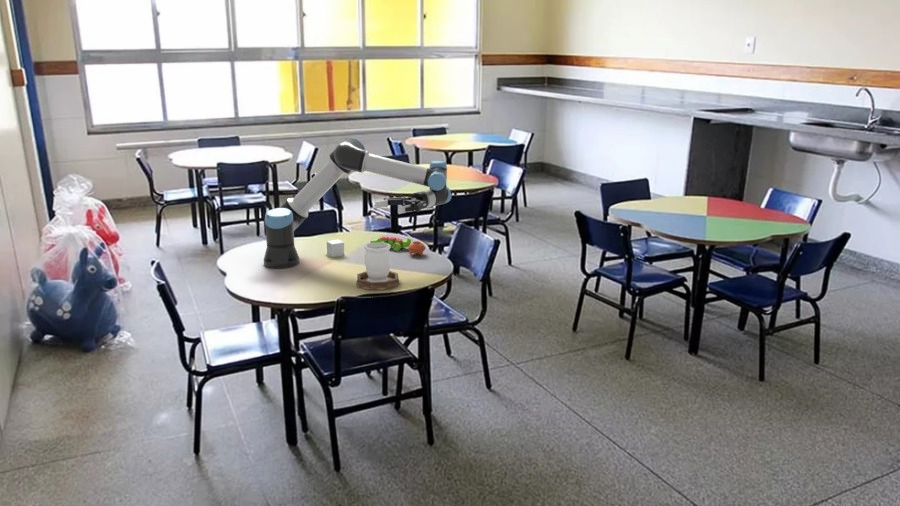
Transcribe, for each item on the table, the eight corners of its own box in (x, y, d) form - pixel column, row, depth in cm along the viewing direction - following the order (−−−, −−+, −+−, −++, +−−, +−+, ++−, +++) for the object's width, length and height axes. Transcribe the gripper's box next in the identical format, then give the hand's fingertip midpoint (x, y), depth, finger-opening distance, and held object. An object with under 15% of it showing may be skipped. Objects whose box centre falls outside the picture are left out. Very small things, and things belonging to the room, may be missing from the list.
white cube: (344, 255, 314) (344, 242, 313) (332, 257, 311) (331, 244, 310) (339, 251, 319) (338, 239, 317) (327, 253, 316) (326, 241, 314)
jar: (386, 286, 272) (386, 250, 268) (361, 284, 274) (360, 248, 270) (394, 277, 282) (393, 242, 278) (369, 275, 284) (369, 241, 280)
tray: (356, 290, 269) (356, 284, 269) (356, 276, 286) (356, 270, 285) (400, 289, 272) (400, 282, 271) (398, 275, 288) (397, 269, 287)
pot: (412, 257, 311) (410, 243, 310) (406, 257, 318) (405, 242, 317) (429, 255, 314) (427, 240, 313) (423, 254, 321) (421, 240, 320)
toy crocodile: (369, 248, 326) (368, 235, 324) (374, 244, 332) (374, 232, 330) (407, 252, 320) (407, 239, 318) (413, 248, 326) (413, 236, 324)
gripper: (444, 213, 292) (408, 222, 276) (402, 203, 307) (366, 211, 292) (444, 195, 289) (408, 203, 274) (402, 187, 305) (366, 194, 290)
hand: (386, 207), depth 283 cm, fingers open, 13 cm apart
